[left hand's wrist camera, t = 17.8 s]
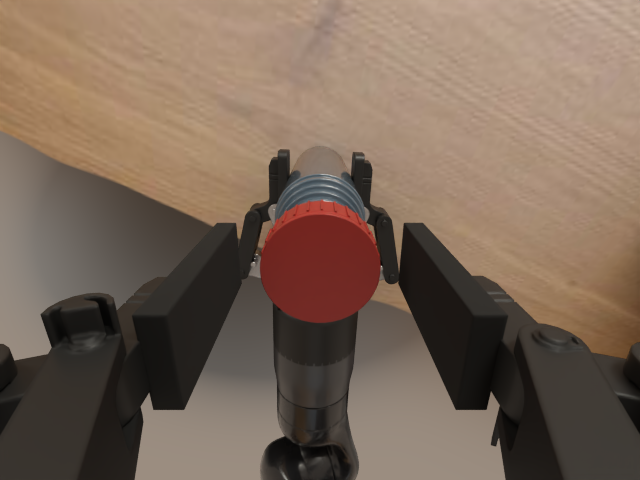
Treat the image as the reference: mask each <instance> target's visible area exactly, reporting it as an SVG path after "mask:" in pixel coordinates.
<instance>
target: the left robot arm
mask: <svg viewBox="0 0 640 480" xmlns="http://www.w3.org/2000/svg"><path fill="white" fill-rule="evenodd" d="M241 284H242V282H241V271H240V260H239V249H238V239H237V228H236V223H217V224H216V225H215V226H214V227H213V228H212V229H211V230H210V231H209V232H208V233H207V235H206V236H205V237H204V238H203V239H202V240H201V241H200V242H199V243H198V244H197V245H196V246H195V247H194V249H193V250H192V251H191V252H190V253H189V254H188V255H187V256H186V257H185V258H184V259H183V260H182V261H181V263H180V264H179V265H178V266H177V267H176V268H175V269H174V270H173V271H172V272H171V273H170V274H169V276H168V277H157V278H155V279H153V280H151V281H149V282H147V283H146V284H144V285H143V286H142V287H141V288H139V289H138V290H137V291H136V292H135V293H134V296H131V297H130V298H129V299H128V300H127V301H126V303H124V304H123V305H122V306H121V307H120V308H119V309H118V310H116V306H115V302H114V298H113V297H111V296H110V295H108V294H103V293H90V294H83V295H79V296H74V297H71V298H68V299H65V300H62V301H60V302H58V303H56V304H54V305H52V306H50V307H49V308H47V309H46V310H45V311H44V312H43V313H42V314H41V317H42V320H43V323H44V326H45V329H46V332H47V335H48V338H49V341H50V344H51V347H52V348H51V350H50V352H49V353H48V354H47V355H41V356H37V357H31V358H26V359H21V360H16V361H14V359H13V356H12V354H11V351H10V349H9V347H7V346H6V345H4V344H0V480H134V479H135V473H136V466H137V460H138V453H139V447H140V440H141V433H142V427H143V416H142V411H141V407H140V406H141V405H142V403H143V402H144V400H145V398H146V397H147V395H148V393H150V397H151V401H152V406H153V410H184V409H185V407H186V405H187V402H188V400H189V398H190V396H191V394H192V391H193V389H194V387H195V385H196V383H197V380H198V378H199V376H200V374H201V372H202V370H203V367H204V365H205V363H206V361H207V359H208V356H209V354H210V352H211V350H212V348H213V345H214V343H215V341H216V339H217V337H218V334H219V332H220V330H221V328H222V326H223V323H224V321H225V319H226V317H227V314H228V312H229V310H230V308H231V306H232V304H233V301H234V299H235V297H236V295H237V293H238V290H239V288H240V286H241ZM398 284H399V286H400V288H401V291H402V293H403V295H404V297H405V299H406V301H407V304H408V306H409V308H410V310H411V312H412V315H413V317H414V319H415V321H416V323H417V326H418V328H419V330H420V332H421V334H422V336H423V339H424V341H425V343H426V345H427V348H428V350H429V352H430V354H431V356H432V359H433V361H434V363H435V365H436V367H437V369H438V372H439V374H440V376H441V378H442V380H443V383H444V385H445V387H446V389H447V391H448V394H449V396H450V398H451V400H452V402H453V405H454V407H455V409H456V410H486V409H487V405H488V401H489V397H490V393H491V392H492V393H493V395H494V396H495V398H496V400H497V401H498V403H499V404H500V407H499V411H498V415H497V419H496V423H495V427H494V431H493V436H492V441H491V445H493V446H496V445H497V441H498V438H499V439H500V446H501V452H502V459H503V465H504V472H505V478H506V480H640V342H637V343H636V344H634V345H632V346H631V349H630V351H629V354H628V356H627V359H623V358H618V357H612V356H607V355H602V354H597V353H592V352H591V351H590V349H589V348H588V346H587V345H586V344H585V343H584V342H583V341H582V340H581V339H580V338H578V337H577V336H575V335H573V334H572V333H570V332H568V331H565V330H563V329H561V328H558V327H555V326H551V325H547V324H539V323H537V322H536V321H535V320H534V319H533V318H532V317H531V316H530V315H529V314H528V313H527V312H526V311H525V310H524V309H523V308H522V307H521V306H520V305H519V304H517V303H516V302H514V300H513V299H512V298H511V297H510V296H509V295H508V294H506V292H505V291H504V290H503V289H502V288H501V287H500V286H499V285H498V284H497V283H495V282H493V281H491V280H489V279H487V278H486V277H484V276H471V274H470V273H469V272H468V271H467V270H466V269H465V268H464V267H463V266H462V265H461V264H460V263H459V261H458V260H457V259H456V258H455V257H454V256H453V255H452V254H451V253H450V252H449V251H448V250H447V249H446V247H445V246H444V245H443V244H442V243H441V242H440V241H439V240H438V239H437V238H436V237H435V236H434V234H433V233H432V232H431V231H430V230H429V229H428V228H427V227H426V226H425V225H424V224H423V223H404V228H403V238H402V249H401V260H400V271H399V282H398Z"/></svg>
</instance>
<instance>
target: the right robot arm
mask: <svg viewBox="0 0 640 480" xmlns="http://www.w3.org/2000/svg"><path fill="white" fill-rule="evenodd" d="M289 176H290V151H289V150H286V149H280V150H279V151H278V157H273V158H272V159H271V162H270V165H269V196H270V198H269V200H268V201H266V202H264V203H261V204H260V203H256V204H254V205H253V206H252V207H251V209H250V211H248V213H247V214H246V216H245V220H244V225H243V230H242V234H241V239H240V244H239V260H240V271H241V279H245V278H247V277H248V275H249V276H253V277H258V278H261V276H260V260H261V255H262V254H261V251H259V250H257V247H258V242H259V238H260V233H261V229H262V224H263V222H266V221H269V220H271V221H272V224H273V226H274V224H275V209H276V205H277V202H278V200H279V198H280V196H281V194H282V191H283V189H284V187H285V185H286V183H287V181H288V179H289ZM351 178H352V180H353V183H354V185H355V187H356V189H357V191H358V193H359V195H360V197H361V199H362V202H363V205H364V208H365V218H366V219H365V221H366V223H368V224H370V225H373V226H374V232H375V238H376V244H377V250H378V252H379V255H380V257H379V258H380V266H381V269H380V278H379V280H384V279H385V281H386V282H387V283H388V284H395V283H397V282H398V280H399V270H398V263H397V255H396V248H395V240H394V233H393V226H392V220H391V218H390V217H389V215H388V214H387V212H386V211H385V210H384V209H383V208H378V207H375V206H373V205H371V204H370V192H371V181H372V167H371V163H370V162H369V161H368V160H365V157H364V154H363V153H362V152H353V155H352V169H351ZM357 318H358V311H357V312H355V313H354V314H352V315H350V316H348V317H346V318H344V319H341V320H337V321H333V322H327V323H314V322H307V321H303V320H300V319H297V318H294V317H292V316H290V315H288V314H287V313H285V312H283V311H282V310H281V309H280V308H278V307H277V306H276V305H275V304H274V303H273V337H274V367H275V372H276V378H277V412H278V421H279V425H280V428H281V430H282V432H283V434H284V435H285V436H284V437H281V438H279V439H277V440H275V441H273V442H272V443H270V444H269V445H268V446H267V448H266V449H265V451H264V454H263V456H262V460H261V465H260V476H261V480H355V479H356V477H357V474H358V470H359V461H358V456H357V452H356V449H355V446H354V443H353V439H352V436H351V431H350V427H349V421H348V415H347V403H348V391H349V382H350V378H351V374H352V370H353V364H354V353H355V342H356V330H357Z"/></svg>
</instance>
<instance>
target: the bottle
mask: <svg viewBox="0 0 640 480" xmlns="http://www.w3.org/2000/svg"><path fill="white" fill-rule="evenodd" d="M321 200H323V201H329V202H333V201H335V202H336V203H338V204H340V205H343V206H348V208H349V209H350V210H352V211H353V212H355V213H356V212H357V213H358V215H359V217H360V218H361V219H362V220H363V222H364V221H365V219H366V218H365V208H364V205H363V202H362V199H361V197H360V195H359V193H358V191H357V189H356V187H355V185H354V183H353V180H352V178H351V176H350V174H349V172H348V170H347V168H346V166H345V164H344V162H343V160H342V158H341V157H340V155H339V154H338V153H337V152H335V151H334V150H332V149H330V148H327V147H320V146H319V147H313V148H310V149H308V150H306V151H305V152H303V153H302V154H301V155H300V157H299V158H298V160H297V162H296V164H295V166H294V168H293V170H292V172H291V174H290V176H289V179H288V181H287V183H286V185H285V187H284V189H283V191H282V194H281V196H280V198H279V200H278V202H277V205H276V209H275V222H276V220H277V219H279V218H280V217H281V216H282V215H283V214H284V213H285V211H286V210H287V211H288V210H290V209H292V208H293V207H295V205H296V204H298V205H300V204H303V203H307V202H308V201H310V202H312V201H321ZM365 222H366V221H365Z"/></svg>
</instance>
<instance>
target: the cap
mask: <svg viewBox="0 0 640 480" xmlns="http://www.w3.org/2000/svg"><path fill="white" fill-rule="evenodd" d="M376 245H377V244H376V242H375V239H374V237H373V235H372V232H371V231H369V228H368V226H367V224H366V222H365V221H364V222H363V220H362V219H361V218H360V217H359V215H358V213H357V212H356V213H355V212H353V211H352V210H350V209H349V208H348V206H343V205H340V204H338V203H336V202H335V201H333V202H329V201H323V200H321V201H312V202H310V201H308V202H307V203H303V204H300V205H298V204H296V205H295V207H293V208H292V209H290V210H288V211H287V210H286V211H285V213H284V214H283V215H282V216H281V217H280V218H279V219H277V220H276V222H275V224H274V226H273V228H272V229H270V231H269V233H268V236H267V238H266V240H265V244H264V247H263V249H262V252H261V254H262V255H261V260H260V276H261V280H262V284H263V287H264V289H265V291H266V293H267V295H268V296H269V298H270V299H271V300H272V302H273V303H274V304H275V305H276V306H277V307H278V308H280V309H281V310H282V311H283V312H285V313H287V314H288V315H290V316H292V317H294V318H297V319H300V320H303V321H307V322H314V323H327V322H333V321H337V320H341V319H344V318H346V317H348V316H350V315H352V314H354V313H355V312H357V311H358V310H360V309H361V308H362V307H363V306H364V305H365V304H366V303H367V302H368V301H369V300H370V298H371V297H372V295H373V294H374V292H375V290H376V288H377V285H378V282H379V278H380V269H381V266H380V258H379V257H380V255H379V252H378V250H377V247H376Z"/></svg>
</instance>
